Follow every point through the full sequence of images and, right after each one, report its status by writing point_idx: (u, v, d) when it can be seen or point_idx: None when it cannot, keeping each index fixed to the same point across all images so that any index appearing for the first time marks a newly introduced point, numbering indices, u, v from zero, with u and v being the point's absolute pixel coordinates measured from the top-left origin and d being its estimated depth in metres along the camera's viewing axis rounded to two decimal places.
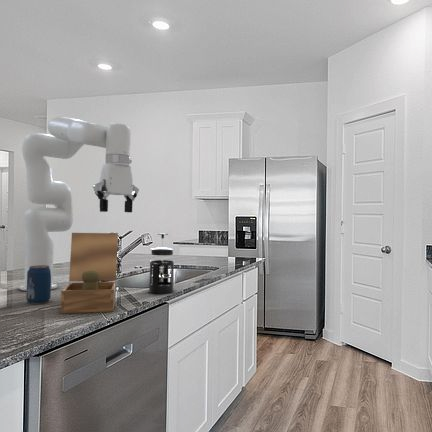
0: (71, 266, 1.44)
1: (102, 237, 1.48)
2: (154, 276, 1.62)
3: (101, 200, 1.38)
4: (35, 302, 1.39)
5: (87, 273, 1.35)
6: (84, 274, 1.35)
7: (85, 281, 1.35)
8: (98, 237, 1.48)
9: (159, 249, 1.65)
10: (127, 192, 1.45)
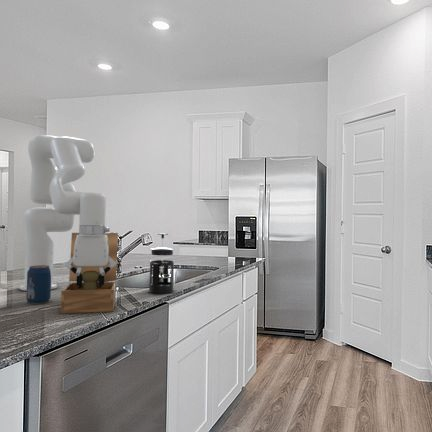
0: None
1: None
2: (154, 276, 1.62)
3: (77, 276, 1.36)
4: (35, 302, 1.39)
5: (87, 273, 1.35)
6: (84, 274, 1.35)
7: (85, 281, 1.35)
8: None
9: (159, 249, 1.65)
10: (99, 264, 1.36)
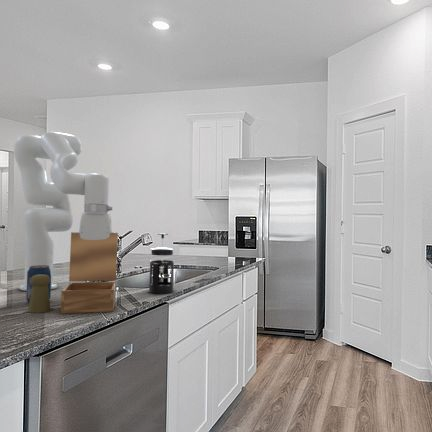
0: (71, 266, 1.43)
1: None
2: (154, 276, 1.62)
3: None
4: None
5: (36, 277, 1.29)
6: (33, 278, 1.29)
7: (34, 285, 1.29)
8: None
9: (159, 249, 1.65)
10: None
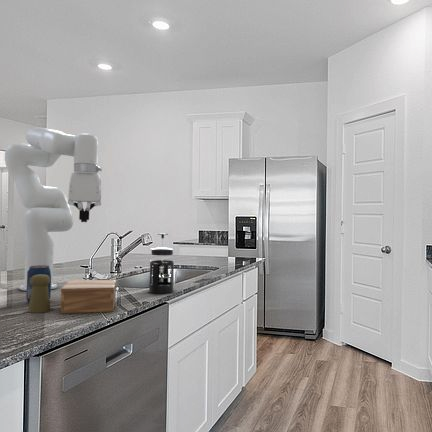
0: None
1: None
2: (154, 276, 1.62)
3: None
4: None
5: (36, 277, 1.29)
6: (33, 278, 1.29)
7: (34, 285, 1.29)
8: None
9: (159, 249, 1.65)
10: (92, 199, 1.49)
